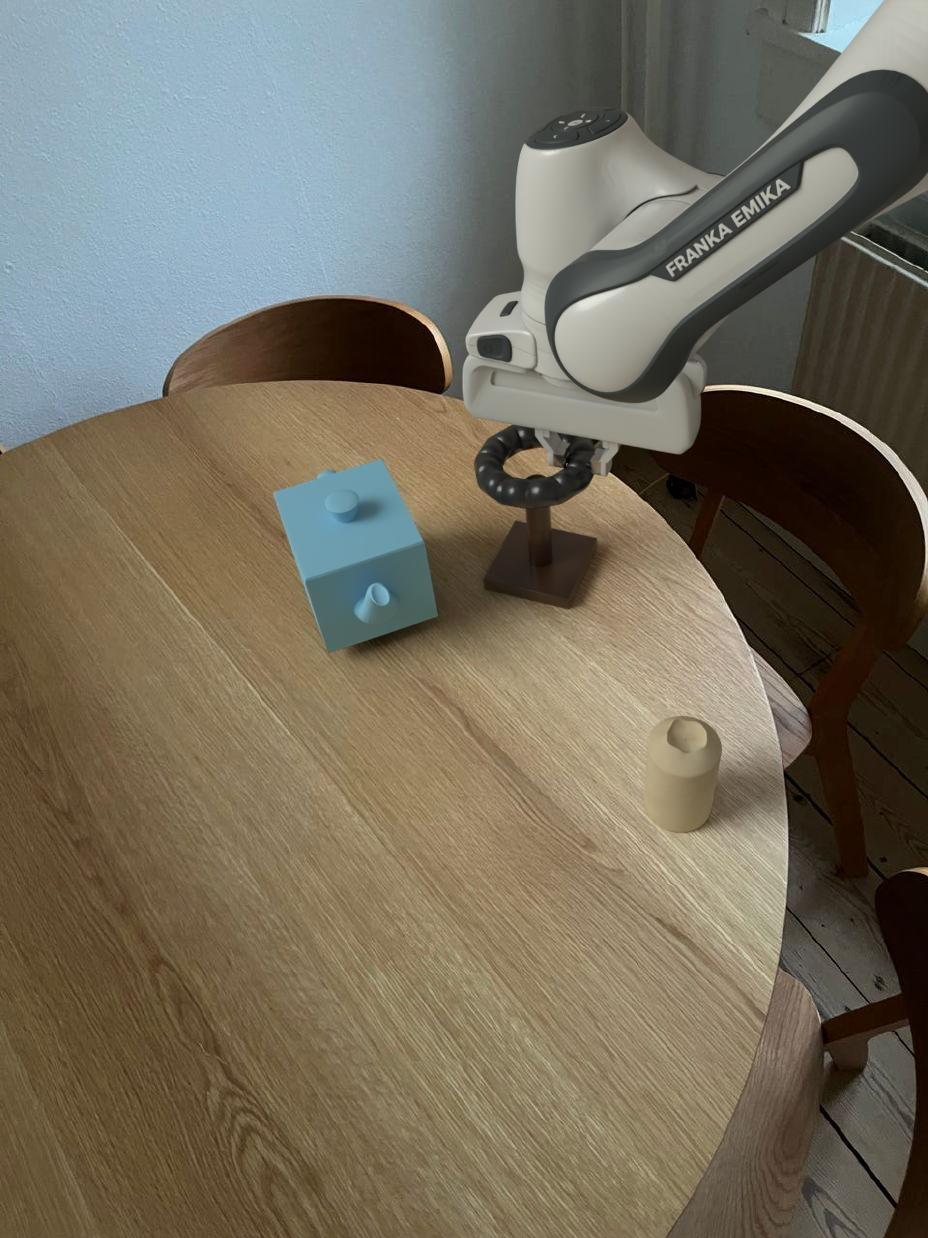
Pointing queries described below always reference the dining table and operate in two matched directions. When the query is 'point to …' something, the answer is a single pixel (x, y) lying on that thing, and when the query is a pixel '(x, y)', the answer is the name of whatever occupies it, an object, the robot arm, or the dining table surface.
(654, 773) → the candle
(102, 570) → the dining table surface
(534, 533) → the stand
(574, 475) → the ring
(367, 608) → the teapot
